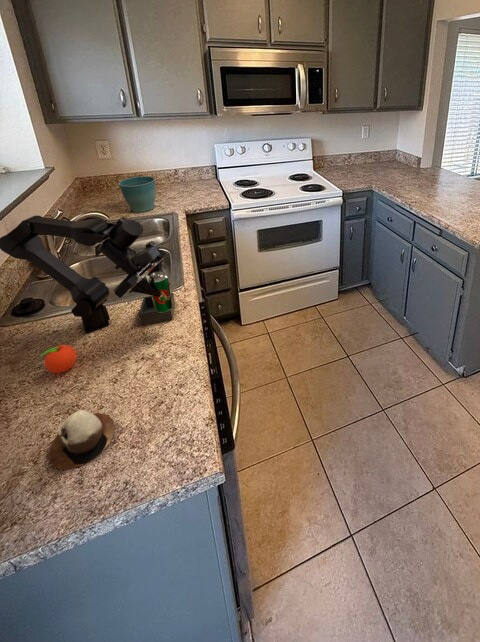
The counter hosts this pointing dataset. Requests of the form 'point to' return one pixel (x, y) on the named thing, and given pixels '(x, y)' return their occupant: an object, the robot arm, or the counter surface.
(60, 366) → the clementine
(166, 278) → the soda can
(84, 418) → the hat
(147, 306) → the waste bin
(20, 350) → the counter surface
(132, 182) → the flower pot
